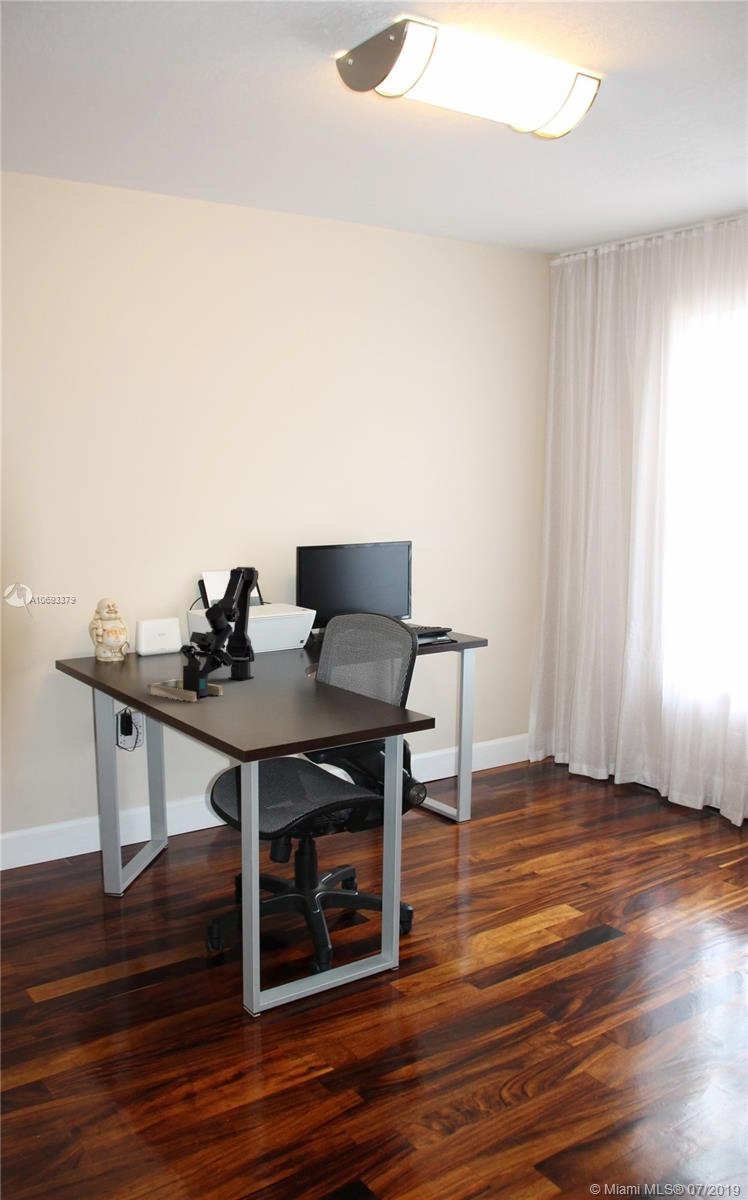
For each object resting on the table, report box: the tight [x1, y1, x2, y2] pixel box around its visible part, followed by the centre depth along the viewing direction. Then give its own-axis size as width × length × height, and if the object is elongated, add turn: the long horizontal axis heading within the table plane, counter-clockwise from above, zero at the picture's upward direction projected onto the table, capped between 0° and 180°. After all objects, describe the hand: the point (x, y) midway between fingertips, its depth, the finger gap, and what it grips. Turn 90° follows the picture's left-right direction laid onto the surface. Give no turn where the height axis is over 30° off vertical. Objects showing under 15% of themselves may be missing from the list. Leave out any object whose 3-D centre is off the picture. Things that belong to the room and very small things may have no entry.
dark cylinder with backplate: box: [182, 665, 209, 700], centre depth 307 cm, size 8×6×10 cm
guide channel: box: [146, 678, 224, 703], centre depth 311 cm, size 13×20×3 cm, turn 55°
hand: (193, 676), depth 306 cm, fingers closed on dark cylinder with backplate, 5 cm apart
